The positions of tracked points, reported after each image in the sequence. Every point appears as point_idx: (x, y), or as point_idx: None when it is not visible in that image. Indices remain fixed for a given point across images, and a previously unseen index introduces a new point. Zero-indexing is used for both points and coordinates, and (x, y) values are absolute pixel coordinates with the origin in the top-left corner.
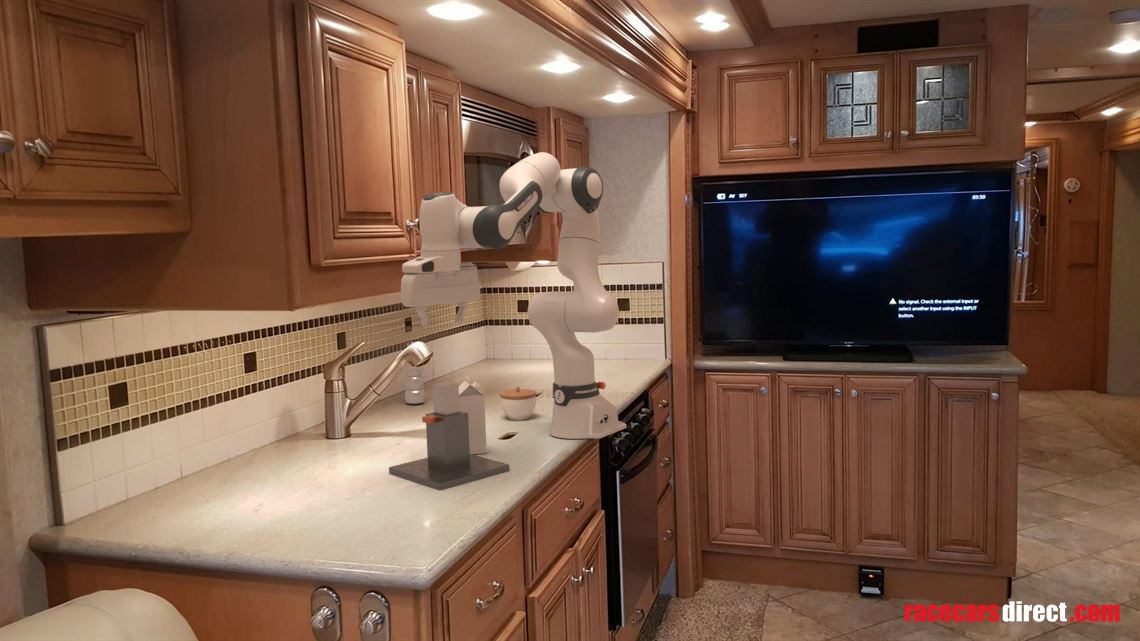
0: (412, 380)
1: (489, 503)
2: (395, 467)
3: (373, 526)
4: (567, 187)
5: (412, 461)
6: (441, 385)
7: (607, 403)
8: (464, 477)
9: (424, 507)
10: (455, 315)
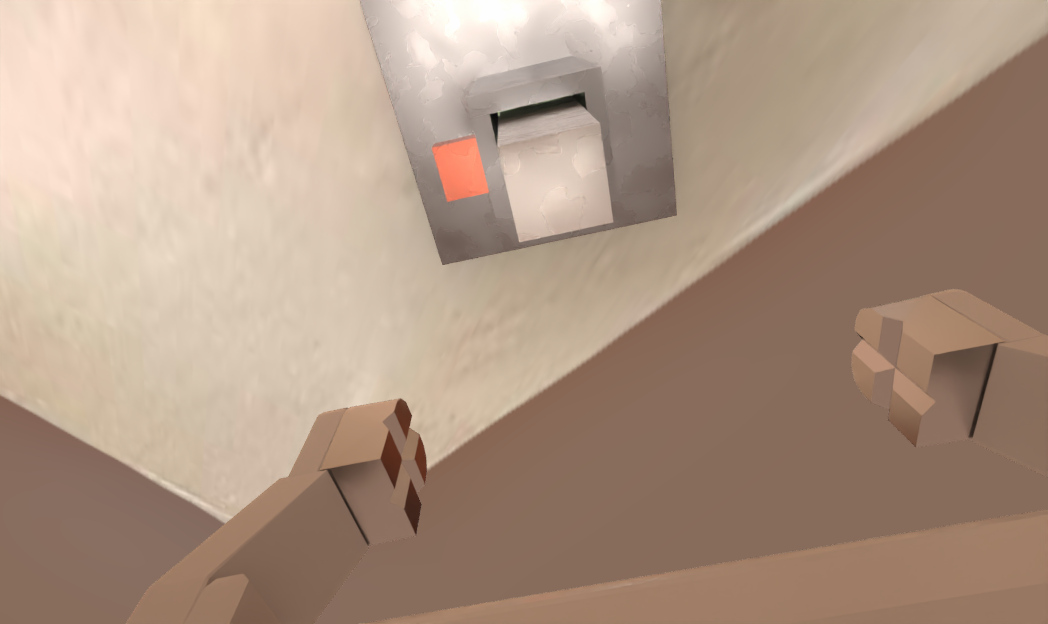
0: None
1: (499, 391)
2: (378, 17)
3: (251, 387)
4: None
5: None
6: (517, 217)
7: None
8: (520, 247)
9: (372, 344)
10: (918, 366)
